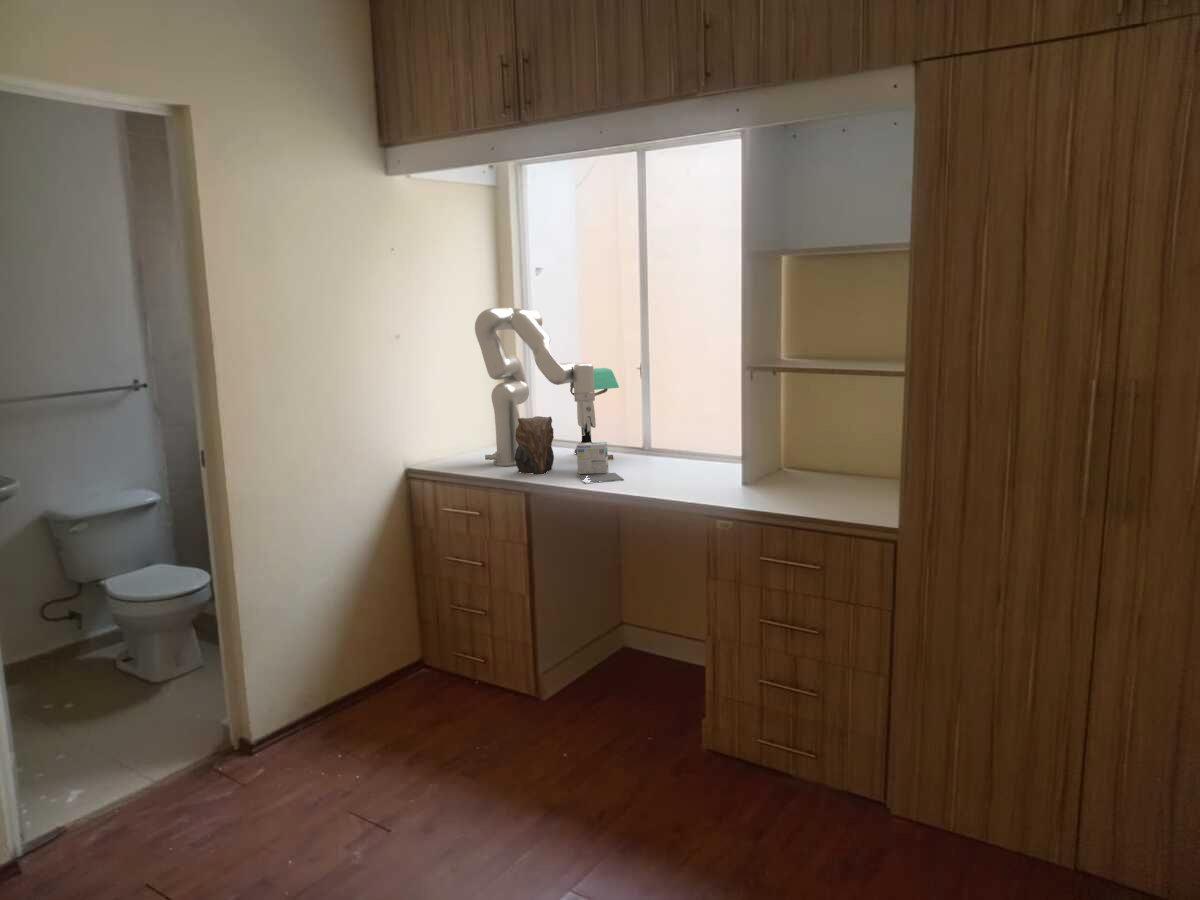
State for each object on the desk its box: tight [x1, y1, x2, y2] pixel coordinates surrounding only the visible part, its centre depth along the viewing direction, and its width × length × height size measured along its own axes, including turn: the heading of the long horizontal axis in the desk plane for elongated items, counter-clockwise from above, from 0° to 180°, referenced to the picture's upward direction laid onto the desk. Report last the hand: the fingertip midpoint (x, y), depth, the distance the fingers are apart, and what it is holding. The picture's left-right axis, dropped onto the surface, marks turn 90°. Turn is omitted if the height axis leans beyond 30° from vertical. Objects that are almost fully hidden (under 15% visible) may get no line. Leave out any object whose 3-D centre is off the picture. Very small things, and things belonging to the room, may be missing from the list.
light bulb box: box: [576, 441, 609, 475], centre depth 314 cm, size 11×7×11 cm, turn 84°
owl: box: [514, 415, 555, 475], centre depth 321 cm, size 13×13×20 cm
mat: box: [576, 472, 625, 483], centre depth 305 cm, size 14×12×1 cm
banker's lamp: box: [569, 367, 620, 460], centre depth 343 cm, size 16×21×35 cm
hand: (586, 445), depth 322 cm, fingers closed
